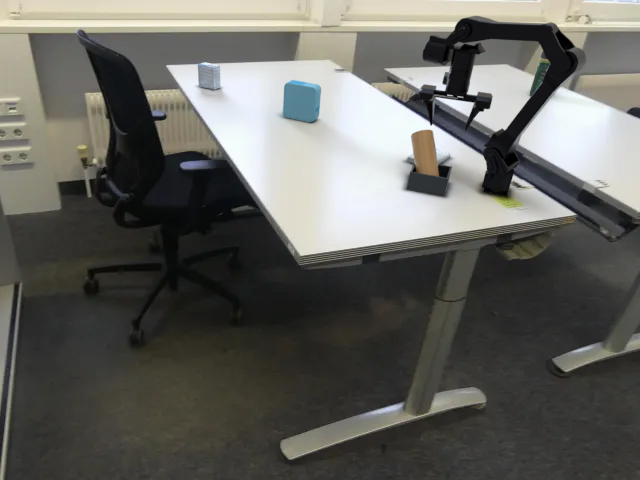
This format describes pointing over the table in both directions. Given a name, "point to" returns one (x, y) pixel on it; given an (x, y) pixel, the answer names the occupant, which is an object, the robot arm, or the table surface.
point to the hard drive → (440, 154)
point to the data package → (301, 100)
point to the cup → (425, 152)
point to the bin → (430, 181)
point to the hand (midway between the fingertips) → (448, 127)
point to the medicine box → (209, 75)
